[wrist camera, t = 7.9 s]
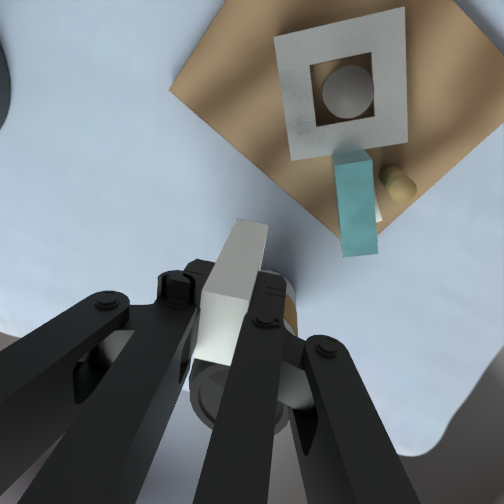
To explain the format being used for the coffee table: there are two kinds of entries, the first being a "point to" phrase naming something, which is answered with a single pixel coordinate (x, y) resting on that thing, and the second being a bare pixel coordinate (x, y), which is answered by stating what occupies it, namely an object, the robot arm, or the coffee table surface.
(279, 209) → the coffee table surface
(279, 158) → the post base
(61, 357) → the robot arm
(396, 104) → the flange
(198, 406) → the coffee cup
